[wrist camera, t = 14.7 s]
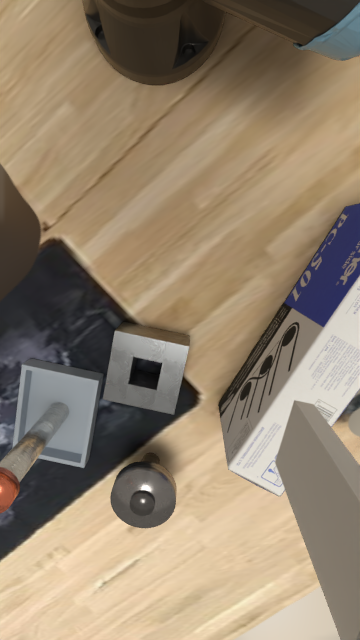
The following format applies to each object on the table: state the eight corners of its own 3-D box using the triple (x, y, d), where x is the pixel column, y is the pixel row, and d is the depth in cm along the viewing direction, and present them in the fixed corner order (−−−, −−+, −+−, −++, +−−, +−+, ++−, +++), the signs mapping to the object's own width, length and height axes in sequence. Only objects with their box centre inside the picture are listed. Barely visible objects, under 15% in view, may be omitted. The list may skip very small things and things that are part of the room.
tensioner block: (123, 321, 45) (114, 330, 40) (189, 335, 45) (189, 346, 40) (112, 383, 47) (102, 399, 42) (175, 396, 47) (173, 414, 42)
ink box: (256, 426, 48) (281, 500, 34) (215, 404, 47) (223, 469, 34) (389, 233, 42) (487, 227, 28) (344, 205, 41) (420, 185, 27)
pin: (47, 395, 47) (-30, 472, 31) (75, 401, 47) (13, 482, 31) (43, 420, 48) (-33, 509, 32) (71, 426, 48) (9, 518, 32)
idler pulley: (128, 430, 49) (114, 469, 40) (183, 441, 49) (181, 484, 40) (119, 477, 50) (104, 525, 42) (172, 489, 50) (167, 539, 42)
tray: (31, 358, 47) (22, 364, 44) (103, 373, 47) (98, 380, 44) (20, 442, 50) (12, 452, 47) (89, 456, 50) (84, 467, 47)
